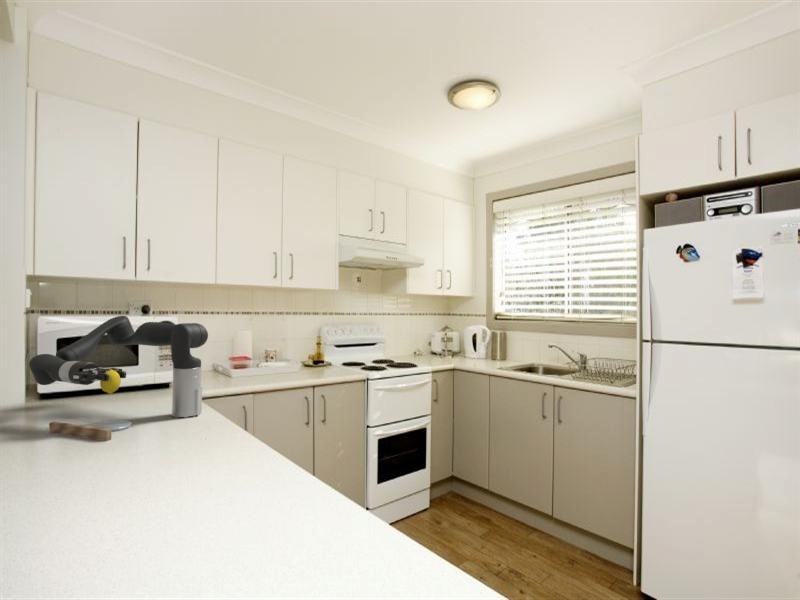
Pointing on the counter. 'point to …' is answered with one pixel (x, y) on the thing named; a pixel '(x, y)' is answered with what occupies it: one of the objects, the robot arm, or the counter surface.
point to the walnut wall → (80, 431)
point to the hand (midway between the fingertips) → (116, 376)
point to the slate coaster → (113, 425)
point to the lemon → (111, 382)
